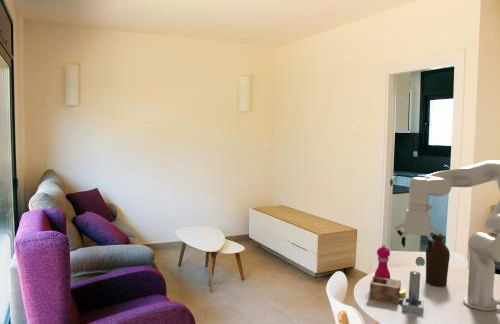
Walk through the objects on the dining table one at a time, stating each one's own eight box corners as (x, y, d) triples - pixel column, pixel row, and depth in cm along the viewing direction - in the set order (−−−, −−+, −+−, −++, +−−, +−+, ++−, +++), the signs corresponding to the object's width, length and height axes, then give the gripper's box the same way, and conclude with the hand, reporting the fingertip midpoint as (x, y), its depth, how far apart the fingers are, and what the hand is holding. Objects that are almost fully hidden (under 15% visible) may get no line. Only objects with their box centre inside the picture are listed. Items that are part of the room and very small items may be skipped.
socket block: (400, 295, 184) (400, 280, 183) (398, 304, 175) (399, 288, 174) (372, 290, 189) (373, 276, 188) (369, 298, 180) (370, 283, 179)
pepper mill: (372, 285, 195) (374, 245, 193) (375, 280, 201) (377, 241, 200) (388, 288, 192) (390, 247, 190) (391, 283, 198) (392, 243, 196)
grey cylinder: (418, 304, 171) (420, 272, 170) (418, 308, 168) (420, 275, 166) (408, 302, 173) (410, 270, 172) (408, 306, 169) (409, 273, 168)
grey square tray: (423, 306, 172) (423, 300, 172) (423, 314, 165) (423, 308, 165) (403, 303, 176) (403, 297, 175) (402, 310, 168) (402, 304, 168)
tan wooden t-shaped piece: (405, 297, 180) (405, 289, 180) (404, 301, 176) (405, 292, 176) (388, 294, 183) (388, 286, 183) (387, 298, 179) (387, 289, 179)
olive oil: (441, 289, 192) (444, 237, 190) (420, 282, 200) (422, 232, 198) (451, 284, 199) (454, 234, 196) (430, 277, 207) (433, 229, 205)
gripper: (441, 207, 167) (439, 248, 168) (396, 204, 174) (395, 243, 175) (441, 211, 160) (439, 253, 161) (395, 207, 167) (393, 247, 168)
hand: (416, 248), depth 168 cm, fingers open, 9 cm apart
